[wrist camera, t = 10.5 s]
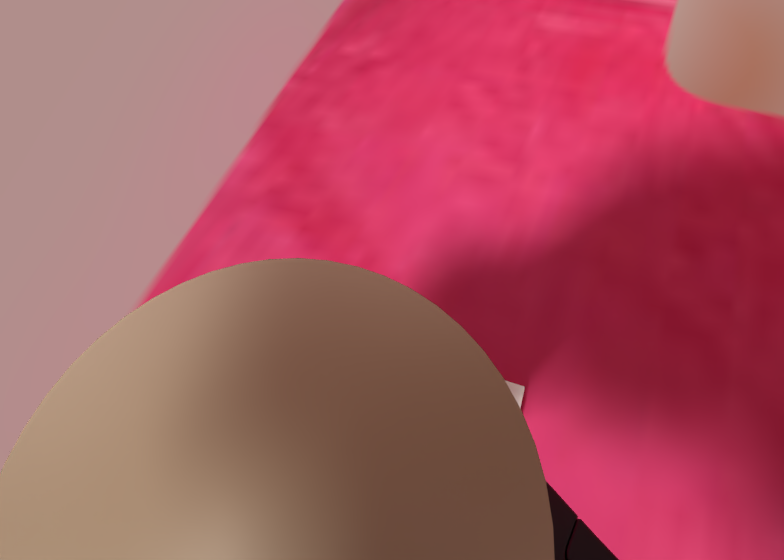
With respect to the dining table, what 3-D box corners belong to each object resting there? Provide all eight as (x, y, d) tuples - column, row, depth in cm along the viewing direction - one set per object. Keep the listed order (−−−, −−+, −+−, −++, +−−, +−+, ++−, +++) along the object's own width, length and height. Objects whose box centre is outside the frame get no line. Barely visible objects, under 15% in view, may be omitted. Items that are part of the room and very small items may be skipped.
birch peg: (451, 511, 15) (681, 743, 3) (331, 563, 14) (-56, 1149, 2) (405, 391, 16) (421, 202, 4) (297, 433, 16) (-30, 351, 4)
